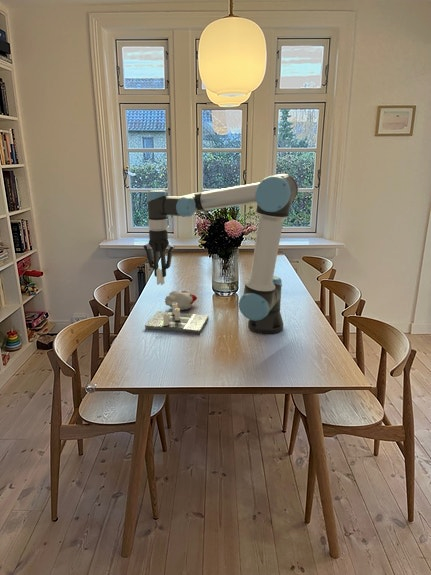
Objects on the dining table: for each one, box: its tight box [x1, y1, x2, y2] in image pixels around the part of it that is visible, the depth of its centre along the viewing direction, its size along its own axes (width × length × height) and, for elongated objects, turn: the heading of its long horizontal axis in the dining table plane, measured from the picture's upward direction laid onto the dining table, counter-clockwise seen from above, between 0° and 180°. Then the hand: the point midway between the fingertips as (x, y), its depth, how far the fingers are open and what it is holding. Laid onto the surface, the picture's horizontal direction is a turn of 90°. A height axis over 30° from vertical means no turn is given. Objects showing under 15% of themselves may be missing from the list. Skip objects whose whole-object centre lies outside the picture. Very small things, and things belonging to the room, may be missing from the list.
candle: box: [164, 290, 198, 311], centre depth 192 cm, size 9×11×15 cm
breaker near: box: [163, 313, 170, 326], centre depth 169 cm, size 2×2×5 cm
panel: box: [144, 310, 210, 336], centre depth 175 cm, size 24×16×2 cm, turn 78°
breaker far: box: [171, 303, 178, 315], centre depth 180 cm, size 2×2×5 cm
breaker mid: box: [174, 308, 181, 321], centre depth 174 cm, size 2×2×5 cm
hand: (160, 283), depth 171 cm, fingers closed
